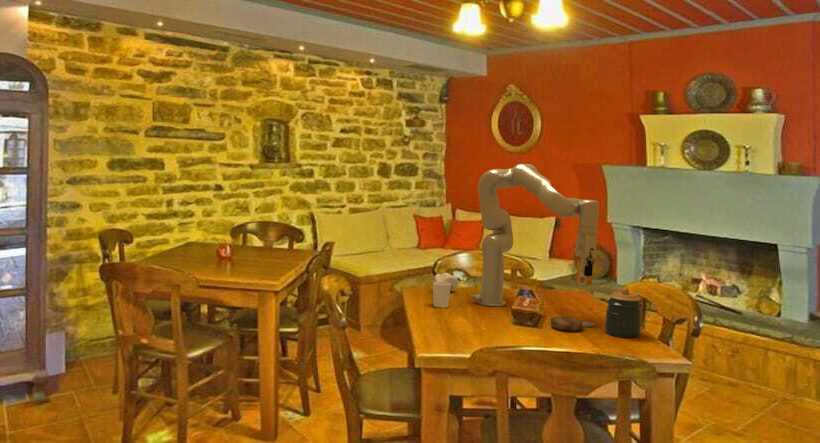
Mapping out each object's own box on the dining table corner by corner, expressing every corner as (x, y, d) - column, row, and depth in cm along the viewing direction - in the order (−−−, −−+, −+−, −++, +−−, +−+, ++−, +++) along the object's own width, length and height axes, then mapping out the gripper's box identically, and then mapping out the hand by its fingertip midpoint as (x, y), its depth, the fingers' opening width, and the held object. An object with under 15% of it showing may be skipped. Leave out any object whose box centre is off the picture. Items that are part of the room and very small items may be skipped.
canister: (636, 340, 220) (640, 293, 218) (600, 334, 226) (603, 288, 225) (643, 332, 231) (647, 287, 229) (609, 326, 238) (612, 282, 236)
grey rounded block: (448, 296, 282) (449, 277, 281) (426, 292, 288) (427, 274, 287) (460, 292, 291) (460, 274, 290) (438, 288, 298) (439, 270, 297)
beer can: (591, 284, 248) (594, 248, 246) (590, 287, 242) (593, 250, 240) (576, 282, 250) (579, 246, 248) (575, 285, 244) (578, 248, 242)
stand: (557, 332, 227) (558, 324, 226) (545, 323, 238) (546, 316, 238) (587, 332, 228) (588, 324, 228) (574, 323, 240) (574, 316, 240)
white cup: (429, 306, 260) (430, 283, 259) (435, 303, 267) (436, 280, 266) (446, 309, 257) (447, 285, 256) (452, 305, 264) (453, 282, 263)
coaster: (581, 327, 235) (581, 325, 235) (573, 322, 242) (573, 321, 242) (598, 327, 236) (598, 325, 236) (590, 322, 243) (590, 321, 243)
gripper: (569, 227, 251) (566, 270, 253) (588, 232, 234) (584, 278, 236) (586, 228, 253) (583, 270, 254) (606, 233, 236) (602, 278, 238)
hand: (584, 273), depth 245 cm, fingers closed on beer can, 6 cm apart
